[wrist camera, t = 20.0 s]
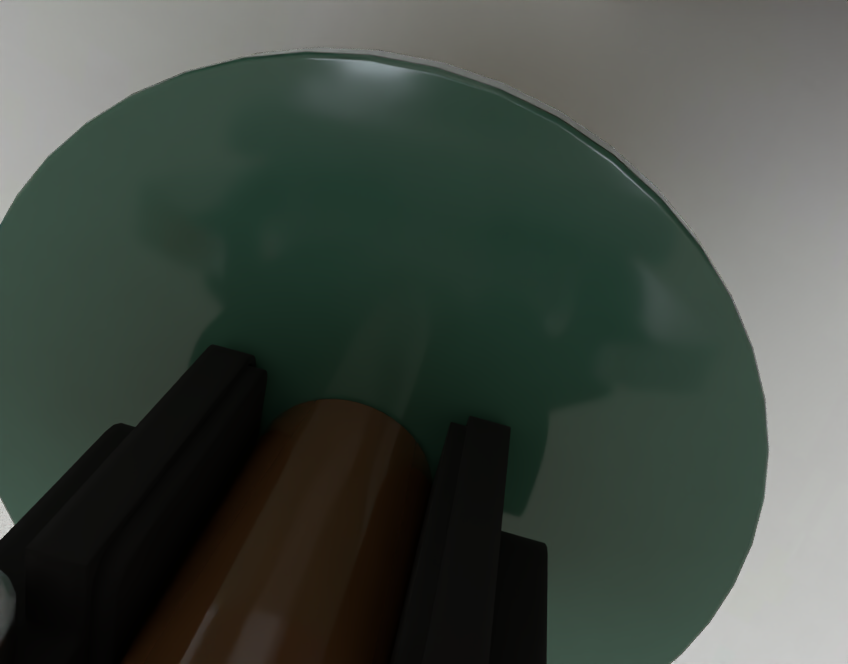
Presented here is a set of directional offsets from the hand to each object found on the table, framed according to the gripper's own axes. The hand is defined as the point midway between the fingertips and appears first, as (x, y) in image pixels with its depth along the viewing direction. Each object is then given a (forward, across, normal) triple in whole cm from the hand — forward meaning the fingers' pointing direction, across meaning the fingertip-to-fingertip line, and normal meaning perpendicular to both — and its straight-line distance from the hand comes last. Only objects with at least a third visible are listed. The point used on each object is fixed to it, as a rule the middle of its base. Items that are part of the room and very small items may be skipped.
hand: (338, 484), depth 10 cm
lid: (+1, 0, 0) cm, 1 cm away
